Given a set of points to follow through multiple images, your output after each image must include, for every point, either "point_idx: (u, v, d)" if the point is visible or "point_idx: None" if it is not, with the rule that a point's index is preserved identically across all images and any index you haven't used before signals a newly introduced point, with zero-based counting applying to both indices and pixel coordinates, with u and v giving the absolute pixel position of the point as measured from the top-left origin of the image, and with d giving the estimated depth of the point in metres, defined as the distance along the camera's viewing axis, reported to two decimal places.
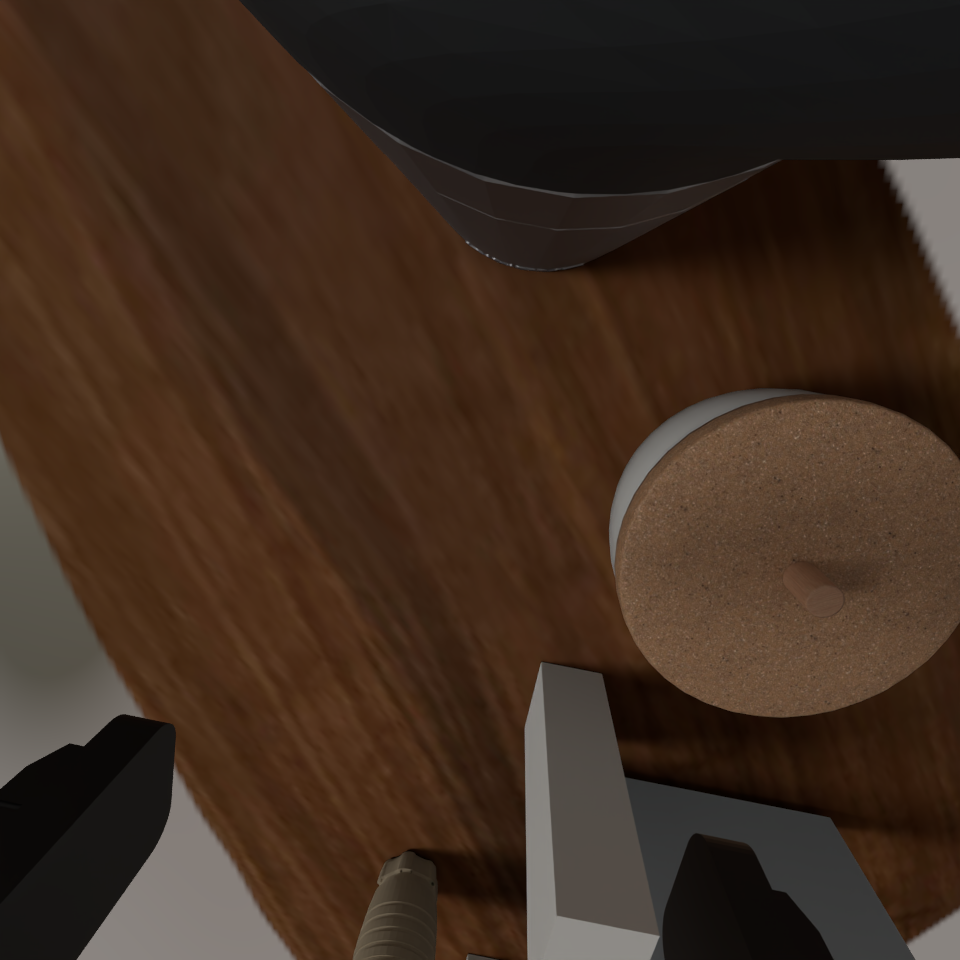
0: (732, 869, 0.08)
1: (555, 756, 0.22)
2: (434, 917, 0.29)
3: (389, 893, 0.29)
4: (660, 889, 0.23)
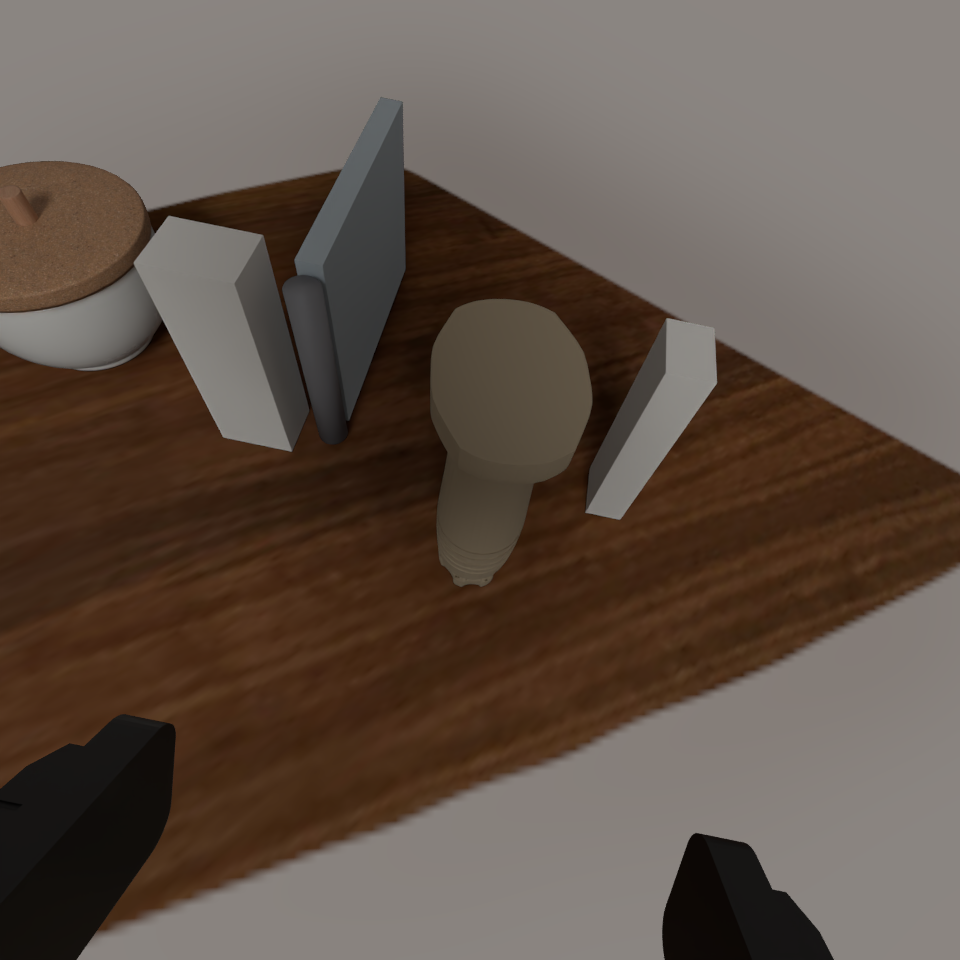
0: (732, 869, 0.08)
1: None
2: None
3: (439, 550, 0.27)
4: None
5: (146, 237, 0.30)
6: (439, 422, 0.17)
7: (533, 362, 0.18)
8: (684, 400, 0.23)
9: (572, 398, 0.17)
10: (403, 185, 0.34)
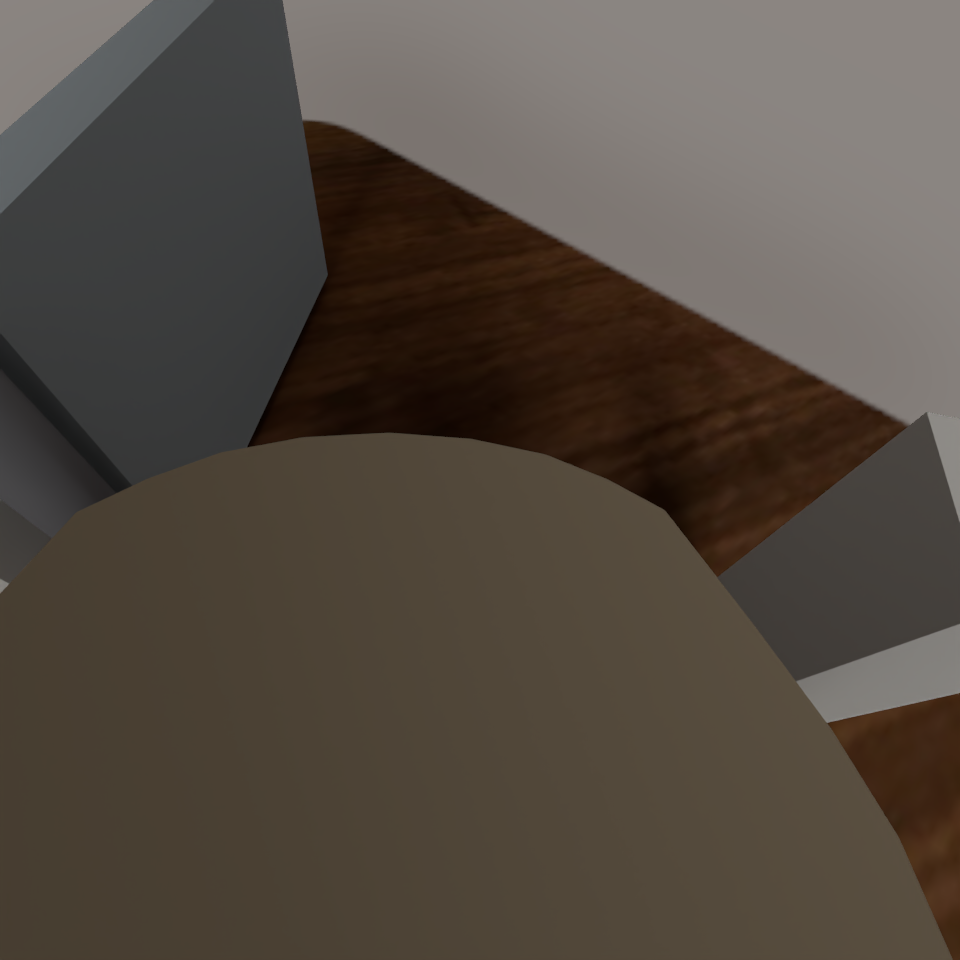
0: None
1: None
2: None
3: None
4: None
5: None
6: None
7: None
8: None
9: None
10: (301, 125, 0.19)
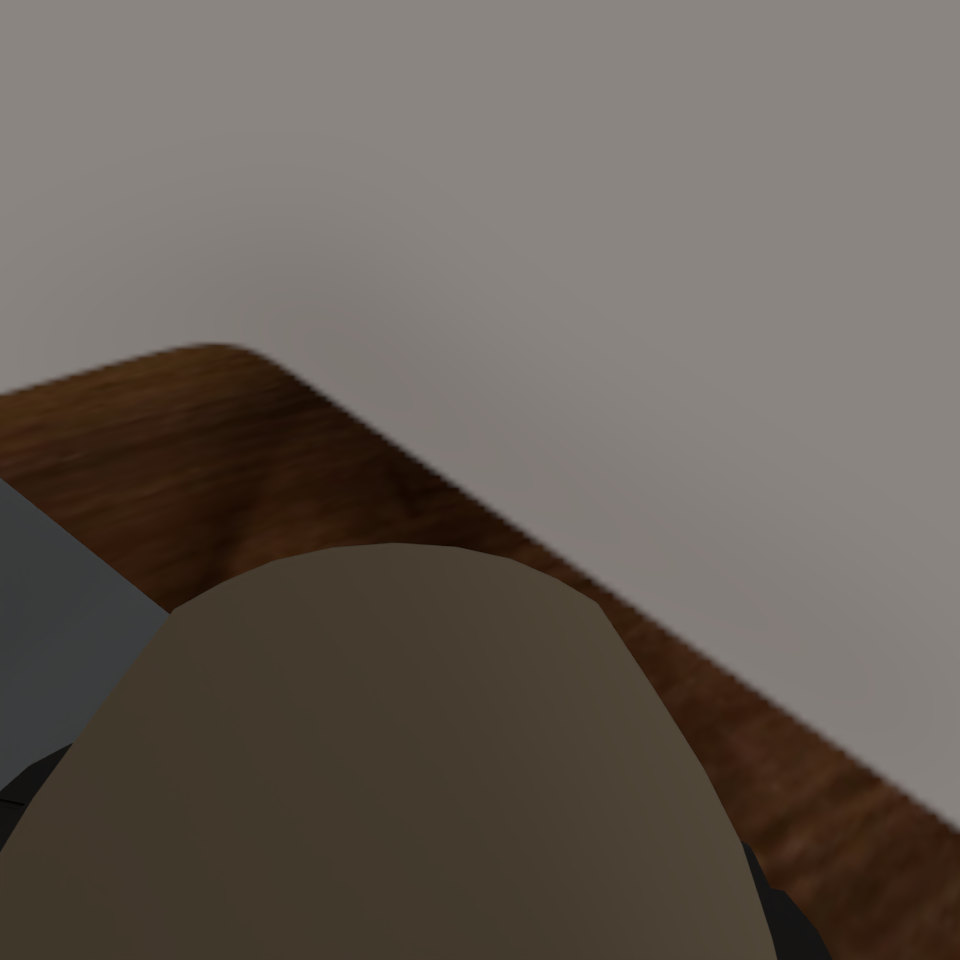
0: None
1: None
2: None
3: None
4: None
5: None
6: None
7: (504, 954, 0.03)
8: None
9: None
10: (104, 570, 0.13)
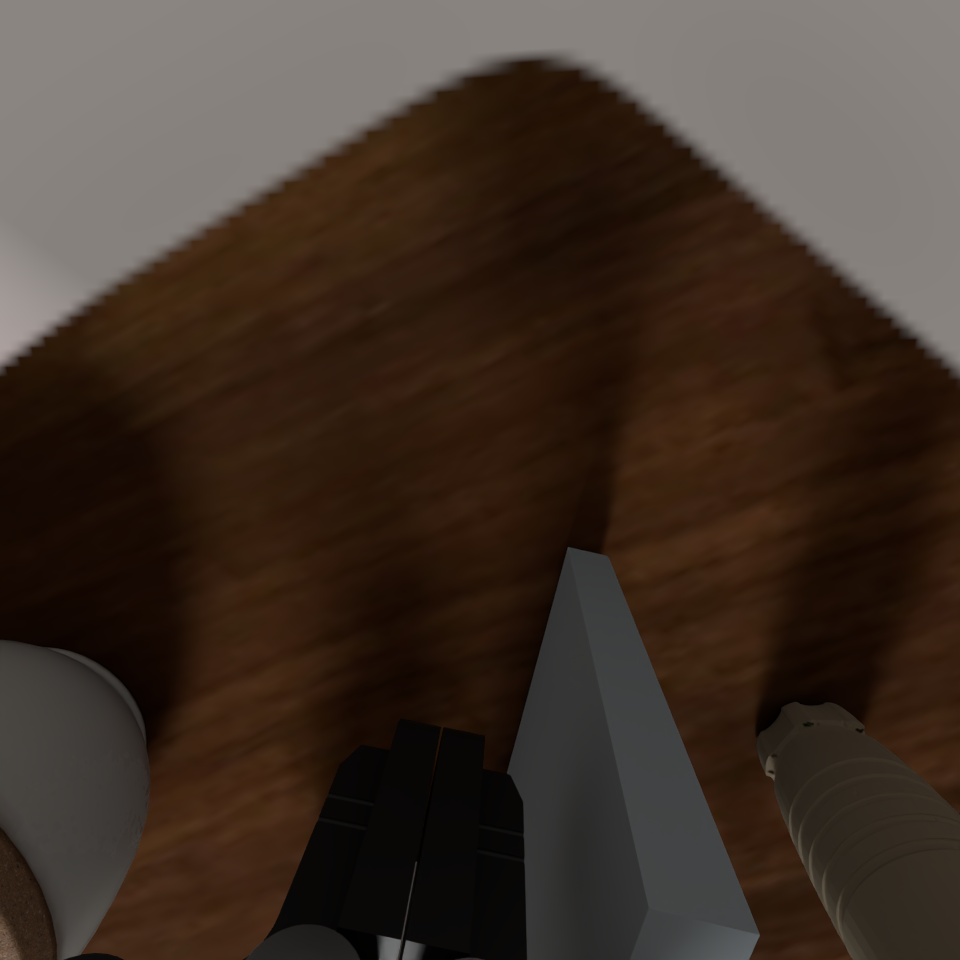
0: (454, 751, 0.09)
1: None
2: (845, 754, 0.15)
3: (784, 817, 0.16)
4: None
5: (39, 931, 0.13)
6: None
7: None
8: None
9: None
10: None
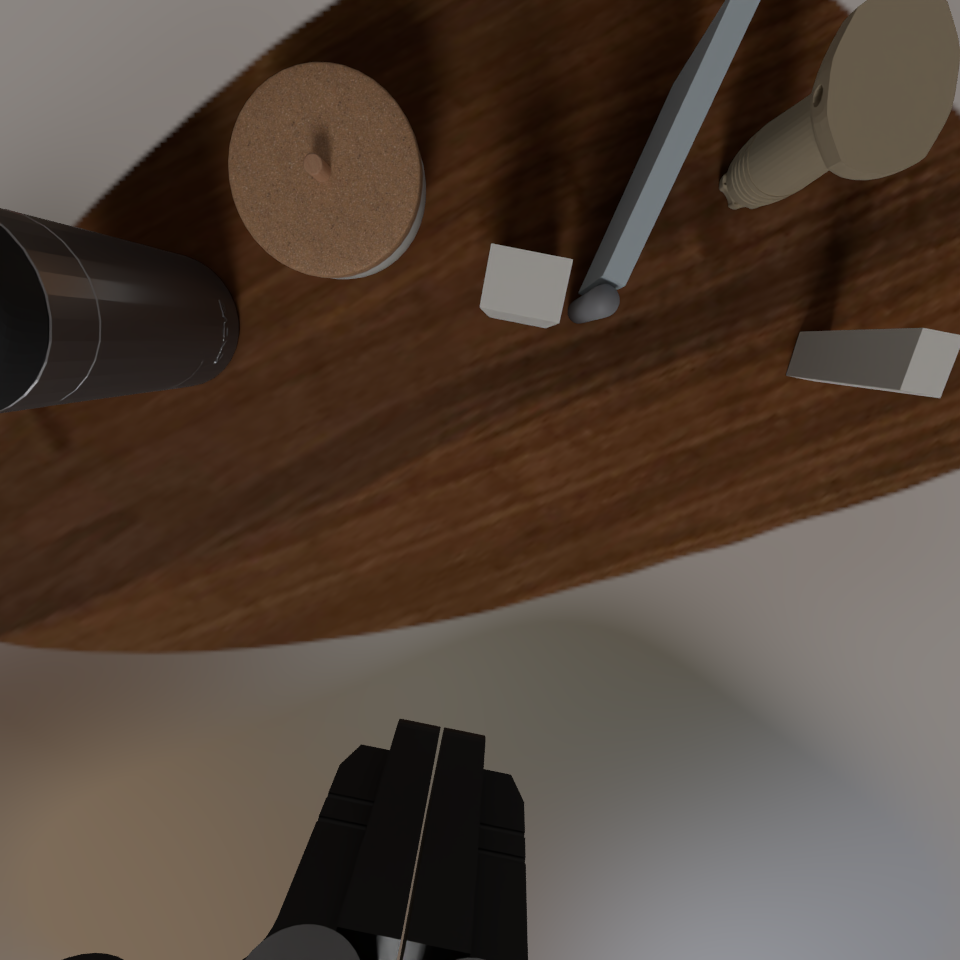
0: (455, 751, 0.09)
1: None
2: None
3: (730, 183, 0.34)
4: (615, 227, 0.32)
5: (421, 169, 0.31)
6: (825, 134, 0.23)
7: (913, 68, 0.22)
8: (907, 392, 0.29)
9: (936, 105, 0.22)
10: None
